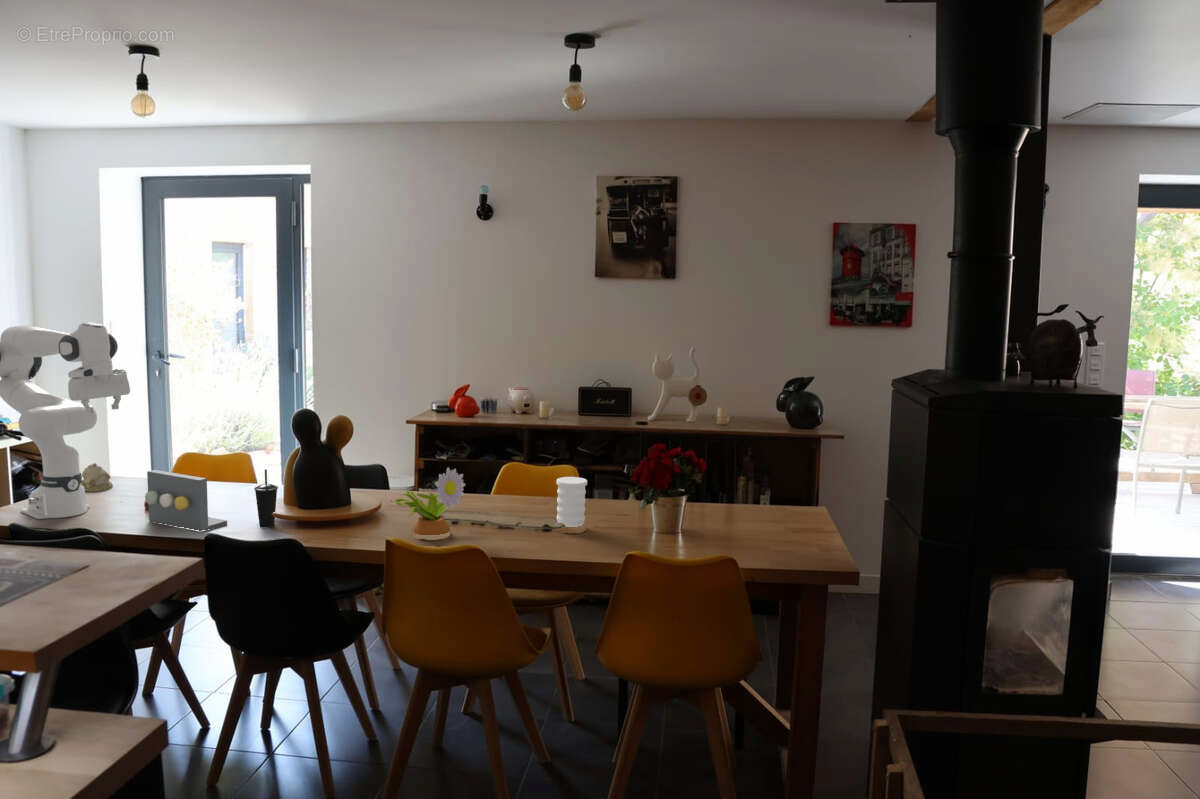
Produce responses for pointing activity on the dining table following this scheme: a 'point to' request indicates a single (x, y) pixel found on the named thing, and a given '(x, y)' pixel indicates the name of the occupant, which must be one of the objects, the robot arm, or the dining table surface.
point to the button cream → (166, 500)
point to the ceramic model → (95, 479)
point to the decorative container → (571, 501)
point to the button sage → (152, 497)
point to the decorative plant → (430, 515)
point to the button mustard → (181, 503)
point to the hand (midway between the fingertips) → (102, 411)
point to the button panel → (179, 487)
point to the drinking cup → (266, 503)
